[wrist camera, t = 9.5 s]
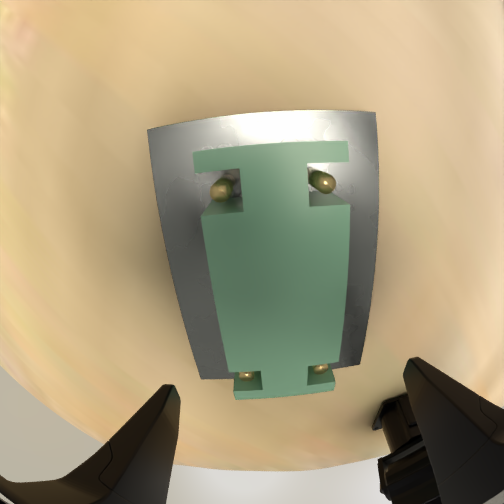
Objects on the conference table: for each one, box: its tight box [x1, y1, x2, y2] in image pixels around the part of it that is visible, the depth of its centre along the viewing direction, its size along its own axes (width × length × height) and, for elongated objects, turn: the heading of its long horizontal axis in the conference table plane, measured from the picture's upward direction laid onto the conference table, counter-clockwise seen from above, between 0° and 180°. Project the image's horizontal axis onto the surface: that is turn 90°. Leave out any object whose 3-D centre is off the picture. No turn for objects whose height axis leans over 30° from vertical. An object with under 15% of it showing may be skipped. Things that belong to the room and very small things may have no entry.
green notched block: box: [192, 141, 350, 400], centre depth 16 cm, size 16×7×4 cm, turn 5°
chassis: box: [147, 110, 379, 381], centre depth 17 cm, size 20×14×5 cm
